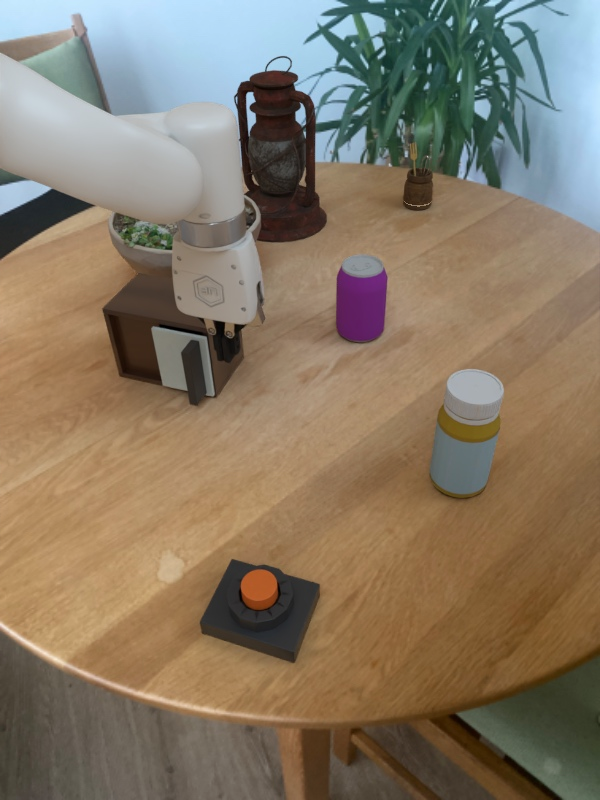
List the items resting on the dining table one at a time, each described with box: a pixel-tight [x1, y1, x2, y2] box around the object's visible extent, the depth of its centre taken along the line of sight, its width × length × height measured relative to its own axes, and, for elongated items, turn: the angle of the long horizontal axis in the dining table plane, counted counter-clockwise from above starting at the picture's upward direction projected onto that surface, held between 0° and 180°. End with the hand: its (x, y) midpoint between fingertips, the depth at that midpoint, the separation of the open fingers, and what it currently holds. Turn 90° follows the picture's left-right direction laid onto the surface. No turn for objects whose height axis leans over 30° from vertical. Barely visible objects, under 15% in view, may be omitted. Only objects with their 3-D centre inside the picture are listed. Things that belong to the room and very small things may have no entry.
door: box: [151, 326, 215, 407], centre depth 92 cm, size 4×8×10 cm, turn 71°
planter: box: [107, 195, 261, 279], centre depth 115 cm, size 26×25×15 cm
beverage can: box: [335, 253, 389, 343], centre depth 104 cm, size 8×8×12 cm
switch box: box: [199, 558, 321, 664], centre depth 69 cm, size 10×8×4 cm
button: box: [241, 569, 278, 610], centre depth 67 cm, size 4×4×2 cm
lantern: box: [233, 55, 328, 243], centre depth 128 cm, size 19×19×30 cm
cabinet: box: [101, 273, 245, 398], centre depth 98 cm, size 10×16×12 cm, turn 71°
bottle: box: [428, 368, 505, 499], centre depth 78 cm, size 7×7×15 cm
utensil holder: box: [402, 141, 434, 211], centre depth 138 cm, size 6×6×12 cm
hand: (228, 355), depth 87 cm, fingers closed
